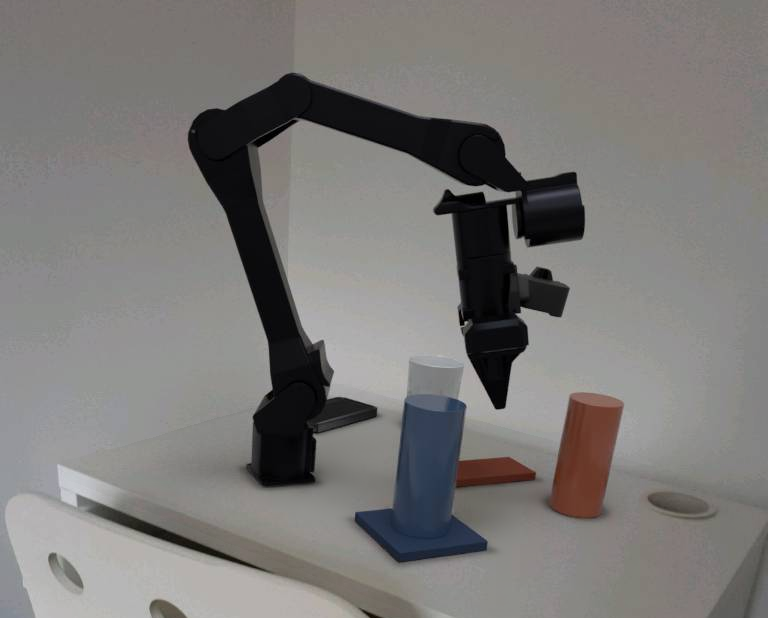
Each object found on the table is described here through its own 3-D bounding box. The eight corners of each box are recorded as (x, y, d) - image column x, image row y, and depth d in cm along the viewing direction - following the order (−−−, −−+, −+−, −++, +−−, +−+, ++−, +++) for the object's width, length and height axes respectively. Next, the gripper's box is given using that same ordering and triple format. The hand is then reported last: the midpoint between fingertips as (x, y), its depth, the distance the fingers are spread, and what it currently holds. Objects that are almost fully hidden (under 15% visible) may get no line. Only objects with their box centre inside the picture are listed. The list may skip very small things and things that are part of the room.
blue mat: (398, 562, 76) (399, 552, 76) (354, 520, 85) (355, 511, 84) (486, 550, 81) (488, 541, 81) (436, 511, 89) (437, 503, 89)
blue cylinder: (408, 541, 79) (423, 412, 74) (380, 517, 83) (393, 394, 79) (460, 535, 81) (478, 410, 77) (430, 511, 86) (446, 393, 81)
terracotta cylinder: (571, 520, 91) (593, 408, 86) (538, 500, 95) (558, 393, 91) (612, 515, 93) (635, 406, 88) (578, 496, 98) (599, 391, 93)
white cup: (456, 438, 115) (466, 369, 111) (401, 433, 115) (409, 363, 111) (453, 423, 122) (462, 357, 119) (401, 418, 122) (408, 352, 119)
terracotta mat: (454, 487, 97) (455, 479, 96) (429, 470, 102) (430, 462, 101) (535, 479, 102) (536, 472, 102) (508, 463, 107) (509, 456, 107)
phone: (380, 407, 122) (315, 425, 110) (379, 415, 122) (314, 433, 111) (339, 396, 126) (272, 411, 114) (339, 403, 126) (272, 419, 115)
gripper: (576, 251, 76) (585, 411, 81) (547, 236, 93) (556, 369, 99) (457, 268, 77) (474, 425, 83) (451, 250, 94) (465, 381, 100)
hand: (496, 397), depth 91 cm, fingers open, 9 cm apart
